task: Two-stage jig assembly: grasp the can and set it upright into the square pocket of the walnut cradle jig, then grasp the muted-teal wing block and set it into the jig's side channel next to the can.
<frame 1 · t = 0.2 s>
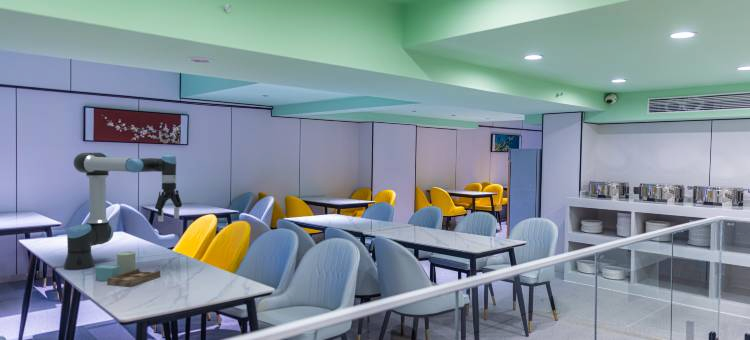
hand: (168, 220, 297), 28 cm above the table, fingers open, 13 cm apart
cradle jig: (134, 280, 269), on the table
wing block: (107, 280, 269), on the table
can: (126, 274, 282), on the table
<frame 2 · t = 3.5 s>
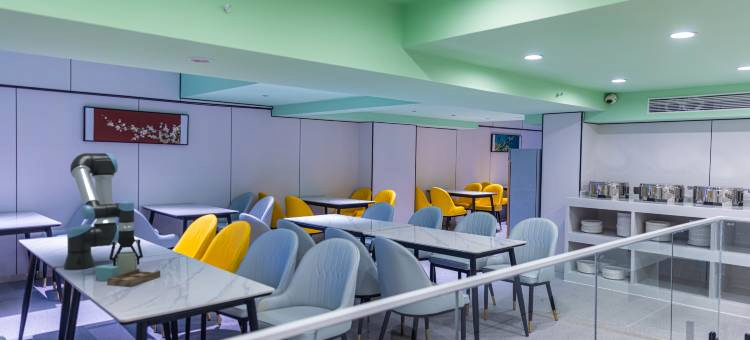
hand: (126, 271, 282), 1 cm above the table, fingers closed on can, 9 cm apart
can: (126, 274, 282), on the table, touching gripper
everything else where it was.
when the fingers open (4 cm above the table, at t = 9.0 s): can drops 2 cm, resting on cradle jig.
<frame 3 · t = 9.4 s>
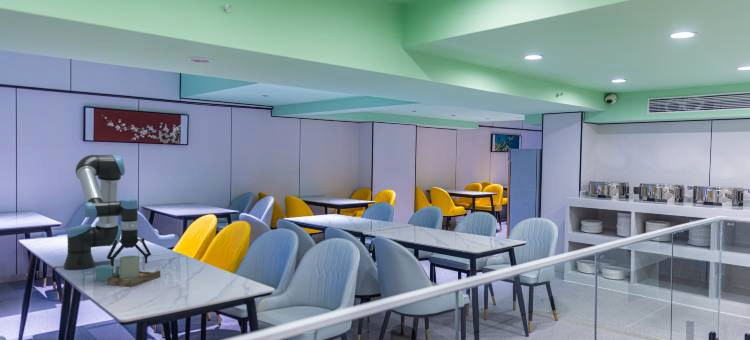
hand: (129, 271, 265), 6 cm above the table, fingers open, 13 cm apart
can: (129, 280, 265), point 1 cm above the table, touching cradle jig
everything else where it was.
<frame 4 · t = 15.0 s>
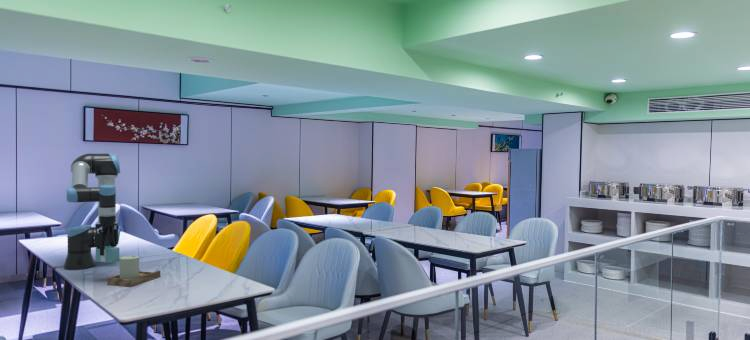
hand: (107, 260, 269), 10 cm above the table, fingers closed on wing block, 5 cm apart
wing block: (107, 261, 269), point 10 cm above the table, touching gripper
everything else where it was.
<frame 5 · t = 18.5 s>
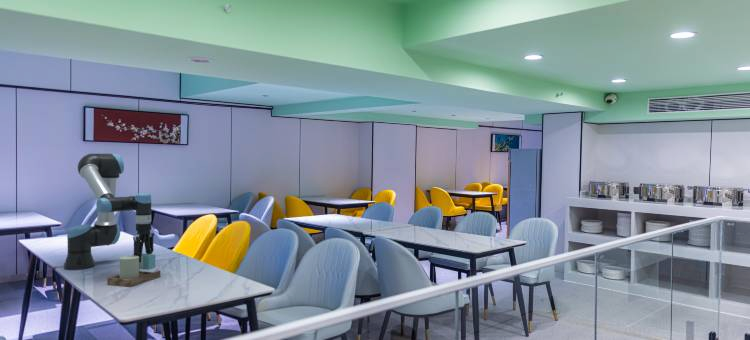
hand: (143, 267, 275), 6 cm above the table, fingers closed on wing block, 5 cm apart
wing block: (144, 268, 275), point 5 cm above the table, touching gripper
everything else where it was.
when the fingers open (2 cm above the table, at t = 19.5 s): wing block stays where it is, resting on cradle jig.
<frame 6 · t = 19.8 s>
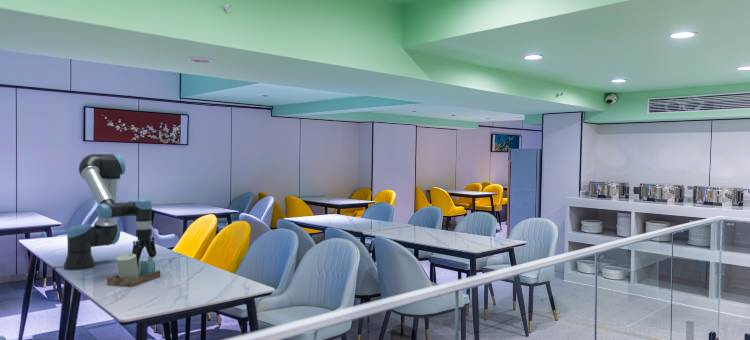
hand: (144, 271, 276), 3 cm above the table, fingers open, 9 cm apart
wing block: (143, 275, 276), point 1 cm above the table, touching cradle jig
can: (129, 278, 265), point 2 cm above the table, touching cradle jig, gripper
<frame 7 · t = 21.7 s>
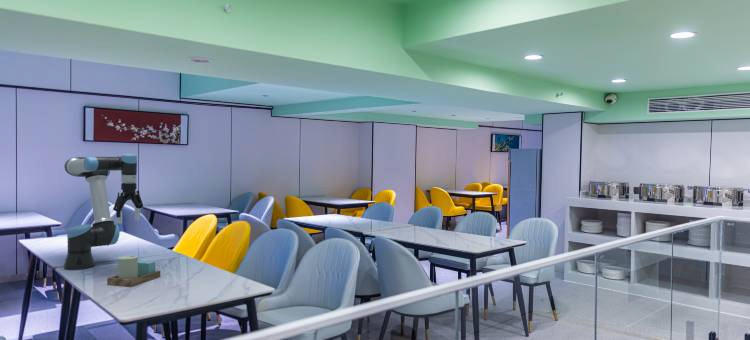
hand: (128, 221, 285), 28 cm above the table, fingers open, 13 cm apart
can: (128, 280, 265), point 1 cm above the table, touching cradle jig
everything else where it was.
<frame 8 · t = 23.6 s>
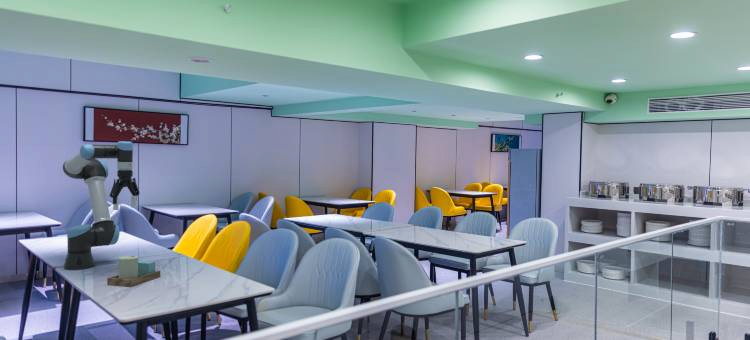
hand: (125, 208, 287), 35 cm above the table, fingers open, 13 cm apart
nothing on the table moved.
at the end: can inside the target area on the cradle jig (0.5 cm from its centre), point 1.1 cm above the cradle jig's base; wing block inside the target area on the cradle jig (0.3 cm from its centre), point 1.2 cm above the cradle jig's base; wing block tilted 0° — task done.
